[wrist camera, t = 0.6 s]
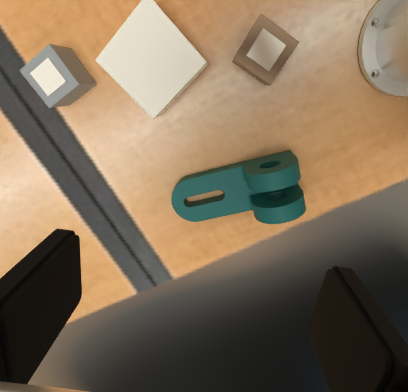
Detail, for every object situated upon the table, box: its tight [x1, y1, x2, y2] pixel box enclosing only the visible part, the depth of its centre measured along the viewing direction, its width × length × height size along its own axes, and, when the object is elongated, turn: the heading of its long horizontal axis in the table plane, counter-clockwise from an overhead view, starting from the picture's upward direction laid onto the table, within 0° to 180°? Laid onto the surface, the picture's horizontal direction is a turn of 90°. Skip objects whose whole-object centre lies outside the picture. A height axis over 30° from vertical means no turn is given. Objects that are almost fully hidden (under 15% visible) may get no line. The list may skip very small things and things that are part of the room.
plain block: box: [96, 0, 209, 119], centre depth 34 cm, size 9×9×5 cm
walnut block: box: [232, 14, 299, 85], centre depth 32 cm, size 5×5×5 cm
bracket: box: [172, 150, 306, 224], centre depth 38 cm, size 18×7×8 cm, turn 105°
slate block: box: [20, 44, 96, 108], centre depth 35 cm, size 5×5×5 cm
